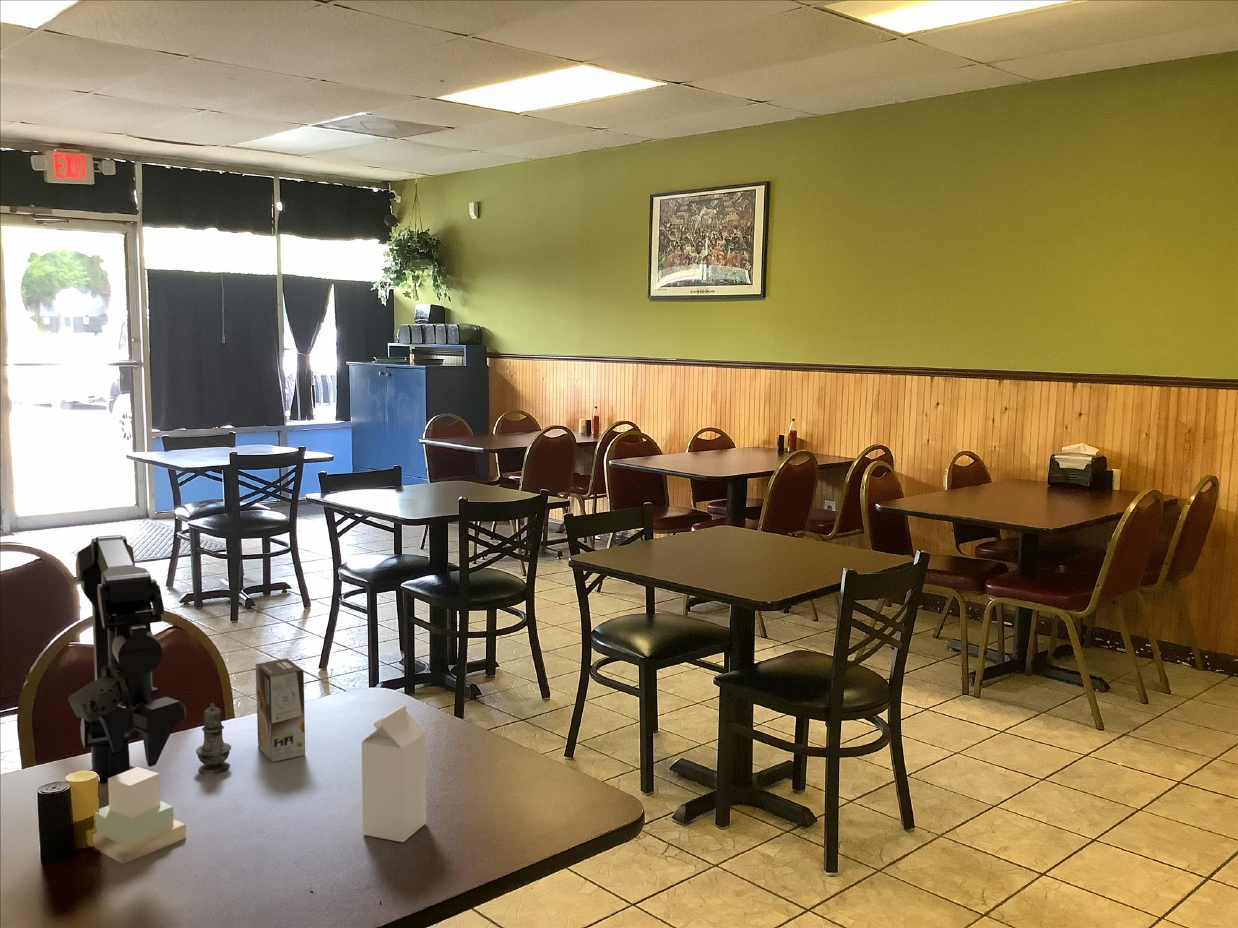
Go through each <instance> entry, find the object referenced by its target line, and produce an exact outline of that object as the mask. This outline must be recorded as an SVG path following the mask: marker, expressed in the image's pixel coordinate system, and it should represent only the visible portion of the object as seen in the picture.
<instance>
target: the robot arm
mask: <svg viewBox="0 0 1238 928" xmlns="http://www.w3.org/2000/svg"><path fill="white" fill-rule="evenodd" d="M127 540H128V539H127V537H126V536H125V535H122V534H115V535H104V536H96V537H95V538H91V542H90V544H88V545H87V546H85V547H84V548H82V549H81V550H79V551H77V554H76V559H75V574H76V575H75V576H76V577H75V578H76V581H77V583H80V587H81V590H82V592H83V594H84V595H85V596H86V598H87V599H88V600H89V602H90V603H91V606H92V607H91V612H92V637H93V659H94V660H93V664H94V666H93V667H94V681H91V682H89V683H87V684H86V685H85V686H83V687H82V688H80V689H79V690H78V689H77V691H75V692H73V693H72V694H70V695H69V696H68V698H67V700H68V702H69V704H70V705H71V708H72V710H73V713H74V714H75V717H76V718H78V719H79V718H81V721H80V738H81V739H80V740H81V743H82V746H83V749H88V748H91V750H90V751H91V769H90V770H88V771H94V772H96V773H97V774H98V775H99V777H100V782H99V783H100V784H107V783H108V778H111V777H113V776H116V775H118V774H121V773H123V772H126V771H128V770H131V769H133V768H136V767H134V766H132V765H131V761H130V758H131V757H130V749H129V748H130V747H129V745H130V743H129V741H130V740H138V739H139V738H138V737H139V736H142V742H143V748H144V752H145V753H144V754H145V755H144V756H145V761H146V763H147V767H153V766H156V765H157V763H158V761H159V759H160V757H161V754H162V752H163V750H164V748H165V746H166V743H167V742H168V740H169V738H170V737H171V734H172V733H173V731H174V729H175V727H176V726H177V725H179V724H180V723H181V721H185V720H186V719H187V708H186V707H187V706H186V704H184V703H183V702H182V701H181V700H177V699H174V698H171V697H169V696H165V697H160V698H158V699H155V700H151V698H154V697H157V696H159V694H160V691H159V690H160V689H159V688H158V687H154V686H153V671H154V670H158V669H159V665H160V663H161V661H162V659H163V648H162V646H161V644H160V642H159V641H158V640H157V639H156V636H154V634H153V632H152V628H151V624H154V623H162V622H163V621H162V615H164V612H165V607H164V602H163V597H162V596H163V595H162V592H161V591H162V590H161V587H160V585H159V584H158V583H157V580H156V578H152V576H151V574H150V572H149V571H148V570H147V569H146V568H144V567H139V566H136V563H135V555H134V548H133V547H132V546H131V545H130V544H129V543H128V541H127Z"/></svg>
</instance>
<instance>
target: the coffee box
mask: <svg viewBox="0 0 1238 928" xmlns="http://www.w3.org/2000/svg"><path fill="white" fill-rule="evenodd" d="M304 673H305V672H304V669H302V668H301V667H300V666H299V665H297V664H296V663H294V662H293V661H291V659H289V658H283V659H275V660H270V661H266V662H261V663H256V664H255V685H256V687H255V689H256V691H255V692H256V715H257V716H256V717H257V748H258V749H259V750H260V751H261V752H262V753H263V754H264V755H265V756H266V757H267V758H268V759H269V760H270V761H271V762H272V763H275V762H279V761H284V760H290V759H292V758H297V757H301V756H304V755H306V729H305V727H306V725H305V724H306V723H305V722H306V721H305V717H306V716H305V676H304V675H305V674H304Z"/></svg>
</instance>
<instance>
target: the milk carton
mask: <svg viewBox="0 0 1238 928" xmlns="http://www.w3.org/2000/svg"><path fill="white" fill-rule="evenodd" d="M373 726H374V728H375V731H373V732H372V733H371V734H370V735H368V736H367V737H366V738H364V740H362V741H361V778H362V779H361V783H362V784H361V787H362V789H361V790H362V792H361V794H362V798H361V799H362V835H364V836H367V837H373V838H379V839H382V840H388V841H393V842H399V843H404V842H406V841H407V840H408V839H409V838H410V837H412V836H413V835H414V834H415V833H416V832H418V831H419V829H421V828H422V827H423V826H424V825H426V824H427V757H426V755H427V754H426V753H427V752H426V751H427V747H426V742H427V740H426V739H427V738H426V737H427V735H426V734H427V732H426V730H424V728H422V727H421V725H420V724H419V723H418V722H417V721H416V720H415V719H414V718H413V717H412V716H411V715H410V713H409V712H408V711H407V704H404V705H401V706H400V707H399V708H397V709H395V710H394V711H392V712H390V713H389V714H386V716H382V717H381V718H379V719H378V720H377V721H376V722H374V723H373Z"/></svg>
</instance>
